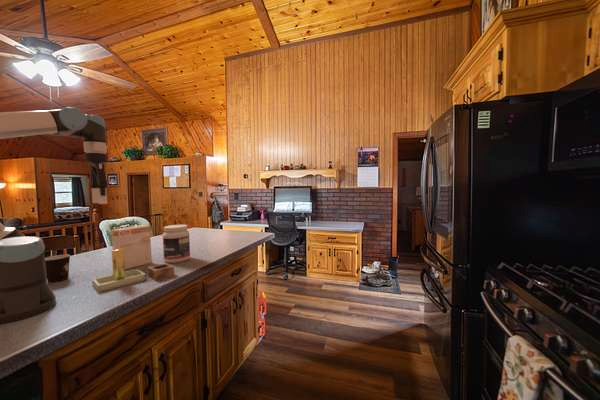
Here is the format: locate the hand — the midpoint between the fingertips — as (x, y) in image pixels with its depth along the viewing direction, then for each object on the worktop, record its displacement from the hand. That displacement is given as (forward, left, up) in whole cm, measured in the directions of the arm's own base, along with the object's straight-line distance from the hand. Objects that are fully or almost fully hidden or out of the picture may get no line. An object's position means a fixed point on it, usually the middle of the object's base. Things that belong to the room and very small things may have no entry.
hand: (99, 203), depth 107 cm
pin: (+3, -11, -32) cm, 34 cm away
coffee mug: (-12, +15, -33) cm, 38 cm away
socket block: (+17, -17, -33) cm, 40 cm away
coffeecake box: (+14, +11, -33) cm, 38 cm away
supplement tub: (+32, +2, -33) cm, 46 cm away
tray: (+3, -11, -33) cm, 35 cm away
